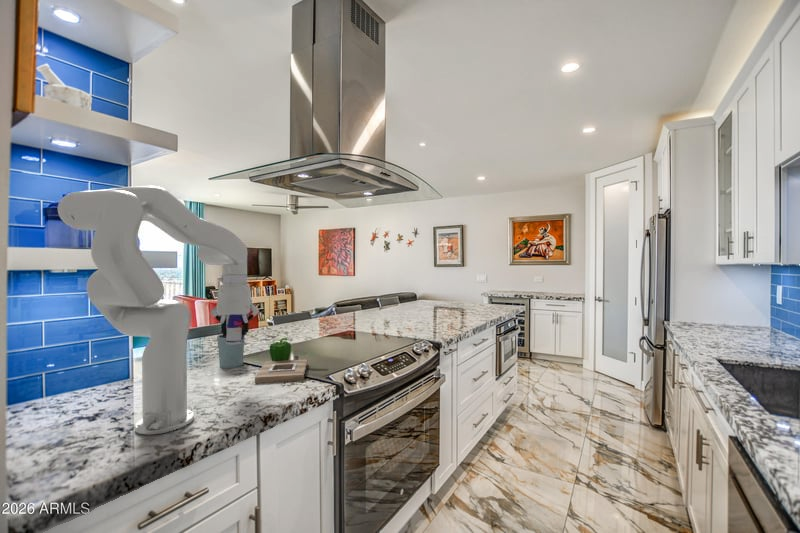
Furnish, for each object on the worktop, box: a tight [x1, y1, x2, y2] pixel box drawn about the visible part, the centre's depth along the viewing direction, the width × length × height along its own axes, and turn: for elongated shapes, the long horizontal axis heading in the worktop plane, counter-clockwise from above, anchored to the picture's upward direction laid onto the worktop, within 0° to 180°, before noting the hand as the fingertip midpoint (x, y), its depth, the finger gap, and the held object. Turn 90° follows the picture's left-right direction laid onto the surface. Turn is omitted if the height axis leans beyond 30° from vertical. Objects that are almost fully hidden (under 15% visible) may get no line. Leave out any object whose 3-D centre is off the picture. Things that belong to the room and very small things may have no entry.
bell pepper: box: [269, 337, 292, 361], centre depth 147 cm, size 8×8×10 cm
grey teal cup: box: [216, 334, 246, 369], centre depth 144 cm, size 10×10×12 cm
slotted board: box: [254, 359, 308, 384], centre depth 133 cm, size 20×16×2 cm
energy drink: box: [226, 315, 245, 345], centre depth 119 cm, size 5×5×12 cm
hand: (235, 334), depth 119 cm, fingers closed on energy drink, 5 cm apart
